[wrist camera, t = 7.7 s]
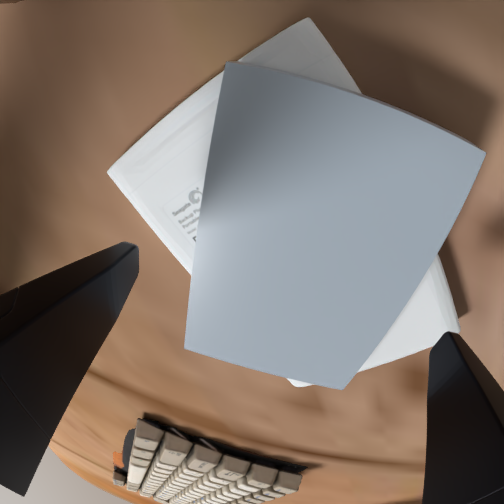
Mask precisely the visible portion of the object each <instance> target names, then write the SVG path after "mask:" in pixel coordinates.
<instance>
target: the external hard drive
mask: <svg viewBox="0 0 504 504" xmlns="http://www.w3.org/2000/svg"><path fill="white" fill-rule="evenodd" d="M238 61H240V62H245V63H250V64H255V65H260V66H265V67H269V68H274V69H278V70H282V71H286V72H290V73H294V74H298V75H302V76H306V77H309V78H313V79H316V80H320V81H323V82H327V83H330V84H333V85H336V86H340V87H343V88H346V89H349V90H352V91H355V92H358V93H361V91H360V90H359V88H358V86H357V85H356V83H355V82H354V80H353V78H352V77H351V75H350V74H349V72H348V71H347V69H346V68H345V66H344V65H343V63H342V62H341V60H340V59H339V57H338V56H337V55H336V53H335V52H334V50H333V49H332V47H331V46H330V44H329V43H328V42H327V40H326V39H325V37H324V36H323V35H322V33H321V32H320V31H319V29H318V28H317V27H316V25H315V24H314V22H313V21H312V20H311V19H310V18H309V17H308V18H305V19H303V20H301V21H299V22H297V23H295V24H293V25H291V26H290V27H288V28H287V29H285V30H283V31H282V32H280V33H278V34H277V35H275V36H274V37H273V38H271V39H269V40H268V41H266V42H264V43H263V44H261V45H260V46H258V47H257V48H255V49H254V50H252V51H251V52H249V53H248V54H246V55H245V56H244V57H242V58H241V59H239V60H238ZM223 74H224V71H222V72H221V73H220V74H218V75H217V76H216V77H214V78H213V79H211V80H210V81H209V82H208V83H206V84H205V85H204V86H203V87H201V88H200V89H199V90H197V91H196V92H195V93H193V94H192V95H191V96H190V97H188V98H187V99H186V100H184V101H183V102H182V103H181V104H180V105H178V106H177V107H176V108H175V109H173V110H172V111H171V112H170V113H169V114H168V115H166V116H165V117H164V118H163V119H162V120H161V121H159V122H158V123H157V124H156V125H155V126H154V127H153V128H151V129H150V130H149V131H148V132H147V133H146V134H145V135H144V136H143V137H142V138H140V139H139V140H138V141H137V142H136V143H135V144H134V145H133V146H132V147H131V148H130V149H129V150H128V151H127V152H125V153H124V154H123V155H122V156H121V157H120V158H119V159H118V160H117V161H116V162H115V163H114V164H113V165H112V166H111V167H110V169H109V170H108V171H107V173H108V174H109V176H110V177H111V178H112V180H113V181H114V182H115V184H116V185H117V186H118V187H119V189H120V190H121V191H122V192H123V194H124V195H125V196H126V197H127V198H128V199H129V201H130V202H131V203H132V205H133V206H134V207H135V208H136V210H137V211H138V212H139V213H140V215H141V216H142V217H143V218H144V220H145V221H146V222H147V223H148V225H149V226H150V227H151V228H152V229H153V231H154V232H155V233H156V234H157V236H158V237H159V238H160V239H161V241H162V242H163V243H164V244H165V245H166V246H167V248H168V249H169V250H170V251H171V253H172V254H173V255H174V256H175V257H176V258H177V260H178V261H179V262H180V263H181V264H182V265H183V266H184V268H185V269H186V270H187V271H188V272H189V273H190V274H191V276H192V268H193V260H194V252H195V244H196V236H197V229H198V221H199V214H200V207H201V200H202V194H203V187H204V180H205V174H206V168H207V162H208V156H209V150H210V144H211V138H212V132H213V127H214V121H215V115H216V110H217V105H218V99H219V94H220V89H221V84H222V79H223ZM361 94H362V93H361ZM447 331H450V332H455V333H459V332H460V324H459V320H458V316H457V313H456V309H455V306H454V302H453V298H452V295H451V292H450V288H449V285H448V282H447V279H446V276H445V272H444V269H443V266H442V263H441V261H440V258H439V255H438V253H437V255H436V257H435V259H434V260H433V262H432V264H431V265H430V267H429V269H428V270H427V272H426V274H425V275H424V277H423V279H422V280H421V282H420V284H419V285H418V287H417V288H416V290H415V292H414V293H413V295H412V296H411V298H410V299H409V301H408V302H407V304H406V305H405V307H404V308H403V310H402V311H401V313H400V314H399V316H398V317H397V319H396V320H395V322H394V323H393V325H392V326H391V327H390V329H389V330H388V332H387V333H386V335H385V336H384V337H383V339H382V340H381V341H380V343H379V344H378V346H377V347H376V348H375V350H374V351H373V352H372V354H371V355H370V356H369V358H368V359H367V360H366V361H365V363H364V364H363V365H362V367H361V368H360V369H359V370H358V372H360V371H363V370H366V369H370V368H373V367H376V366H379V365H382V364H385V363H388V362H391V361H394V360H397V359H400V358H403V357H405V356H408V355H410V354H414V353H417V352H419V351H421V350H424V349H427V348H429V347H432V346H434V345H435V344H436V343H437V341H438V340H439V339H440V338H441V336H442V335H443V334H444V333H445V332H447ZM287 379H288V380H289V381H290V382H291V383H292V384H293V385H294V386H296V387H305V386H310V385H313V384H311V383H306V382H302V381H297V380H293V379H289V378H287Z"/></svg>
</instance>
